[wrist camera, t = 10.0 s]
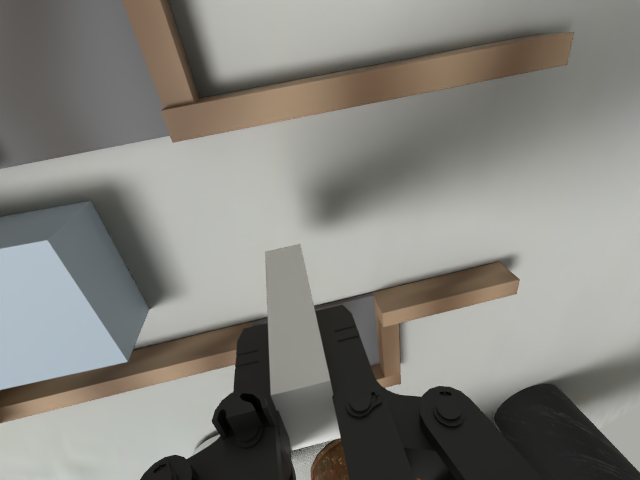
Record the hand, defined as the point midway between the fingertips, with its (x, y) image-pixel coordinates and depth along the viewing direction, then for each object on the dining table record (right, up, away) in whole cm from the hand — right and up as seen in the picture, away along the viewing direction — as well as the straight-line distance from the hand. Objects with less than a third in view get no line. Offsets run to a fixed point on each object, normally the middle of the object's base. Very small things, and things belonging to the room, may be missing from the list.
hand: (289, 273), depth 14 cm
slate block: (-13, 0, +3) cm, 13 cm away
